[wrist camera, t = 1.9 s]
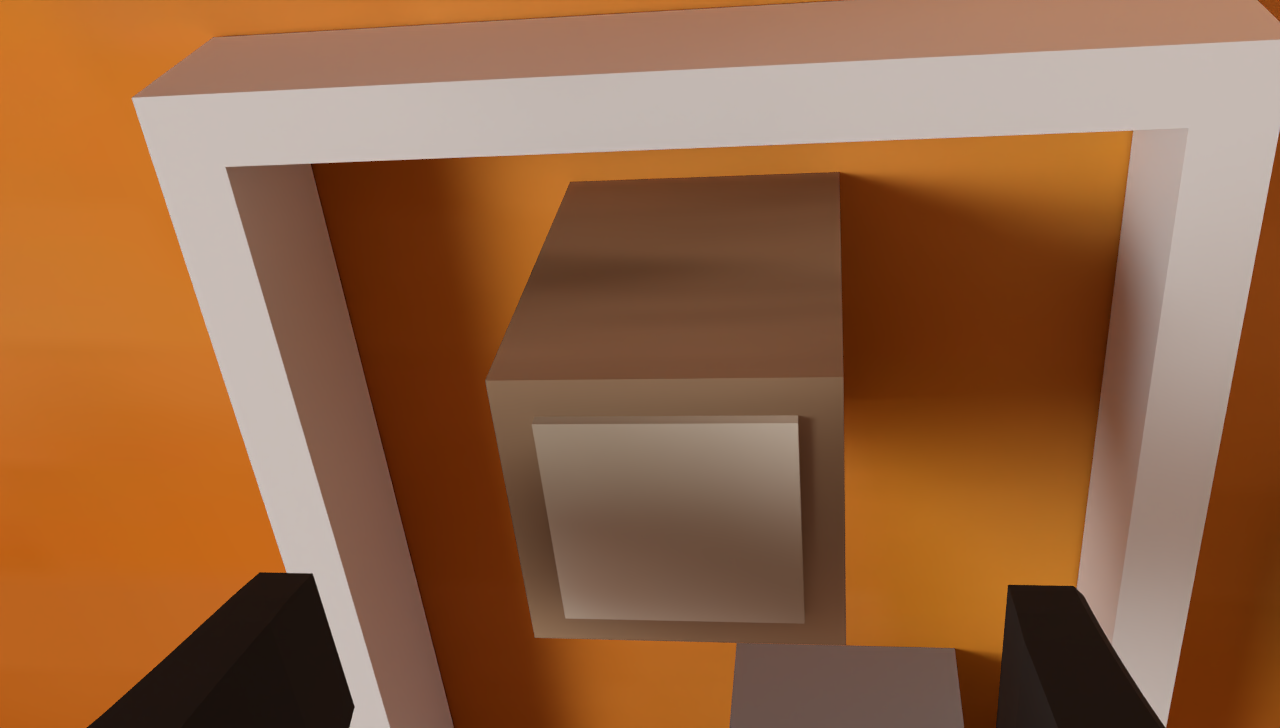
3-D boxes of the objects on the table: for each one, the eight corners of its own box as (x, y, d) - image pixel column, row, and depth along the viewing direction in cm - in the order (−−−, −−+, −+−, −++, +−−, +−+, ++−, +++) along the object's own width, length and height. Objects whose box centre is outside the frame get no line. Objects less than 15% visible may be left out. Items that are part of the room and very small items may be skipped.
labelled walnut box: (841, 399, 20) (845, 654, 15) (600, 401, 21) (532, 646, 16) (839, 171, 18) (843, 384, 13) (570, 181, 18) (482, 388, 14)
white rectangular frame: (1093, 865, 25) (1117, 982, 23) (437, 831, 27) (405, 935, 25) (1234, -23, 16) (1296, 38, 14) (213, 37, 18) (131, 97, 16)
